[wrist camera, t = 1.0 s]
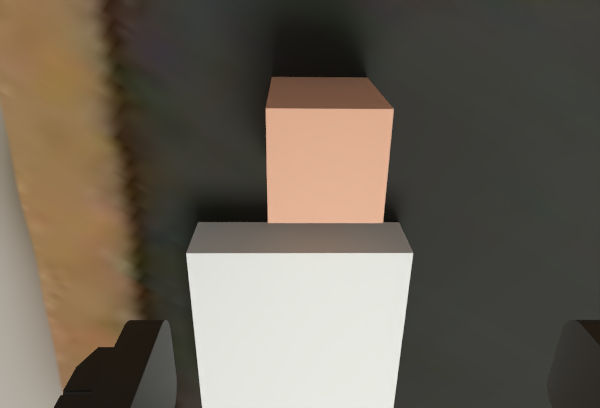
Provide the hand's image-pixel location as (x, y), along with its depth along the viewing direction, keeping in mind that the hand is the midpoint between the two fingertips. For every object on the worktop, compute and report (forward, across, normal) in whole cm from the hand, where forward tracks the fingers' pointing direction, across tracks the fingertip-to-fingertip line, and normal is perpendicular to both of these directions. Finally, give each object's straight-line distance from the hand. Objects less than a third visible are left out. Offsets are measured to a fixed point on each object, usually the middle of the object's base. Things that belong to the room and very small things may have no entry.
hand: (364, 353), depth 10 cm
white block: (+18, +1, +12) cm, 22 cm away
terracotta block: (+18, 0, 0) cm, 18 cm away
